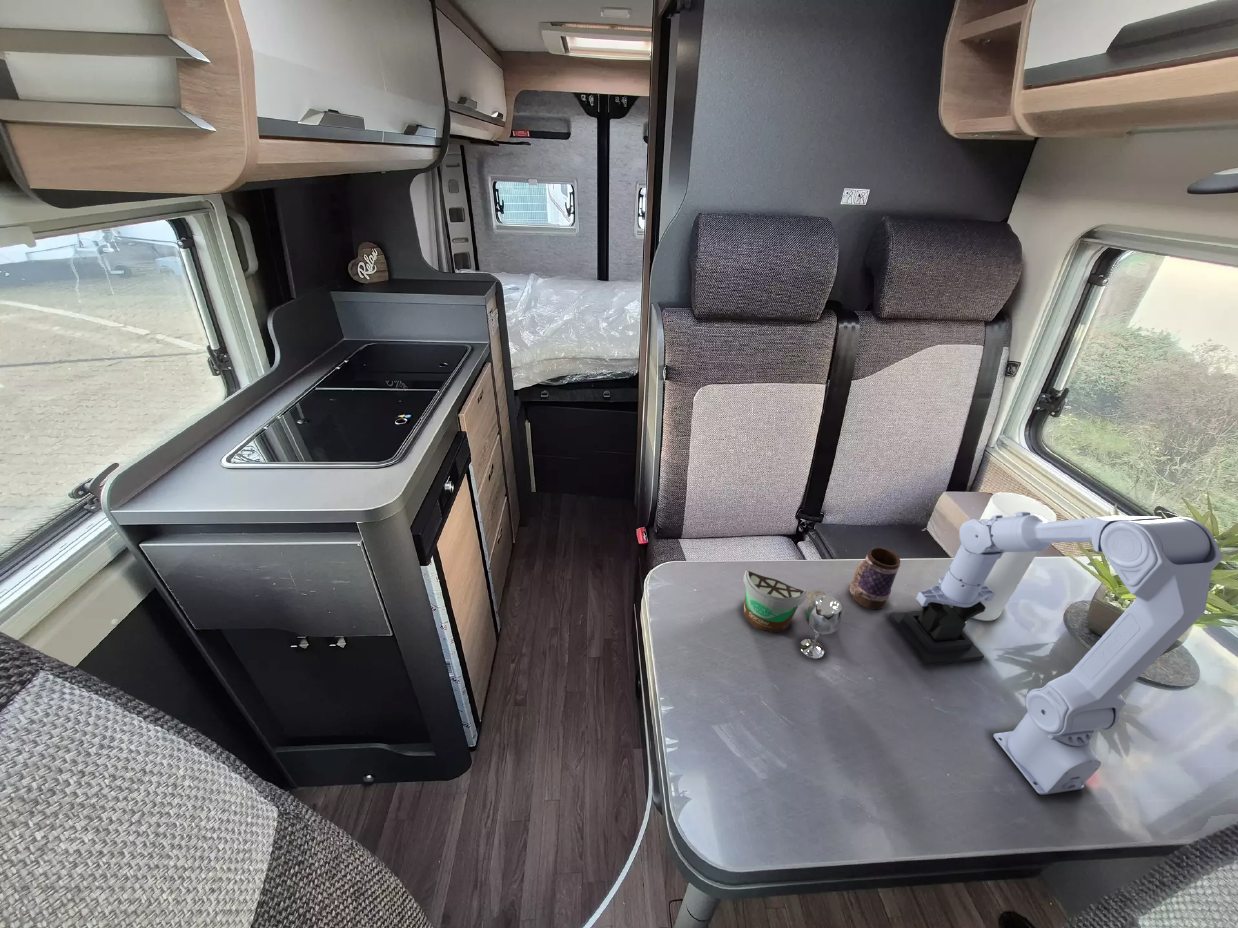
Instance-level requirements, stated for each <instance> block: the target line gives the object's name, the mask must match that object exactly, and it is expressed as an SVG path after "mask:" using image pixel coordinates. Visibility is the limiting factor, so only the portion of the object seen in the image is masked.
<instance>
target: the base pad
mask: <svg viewBox="0 0 1238 928" xmlns="http://www.w3.org/2000/svg"><path fill="white" fill-rule="evenodd" d="M921 611H922V610H912V611H901V612H890V613H889V615H888V617H889V619H890V620H891V621H892V623H893V624H894V626H895V627H896V628H897V629H898V631H899V632H900V633H901V634H902V636H903V637H904V639H905V640H906V641H907V642H908V644H909V645H910V646H911V648H912V649H913V651H914V652H915V653H916V654H917V655H918V657H919V658H920V659H921V661H922V662H923V663H924V665H925V666H932V665H941V664H942V665H943V664H952V663H962V662H971V661H979V660H983V659H984V657H985V655H984V654H983V653H982V652H981V650H980V649H979V648H978V647H977V646H976V645H975V643H974V641H972V639H971V638H970V637H969V636H968V635H967V633H965V631H964V630H962V632H961V634H960V636H959V638H958V639H957V640H956V641H945V642H934V641H933V640H932V639H931V637H930V636H929V635H928V634H927V633H926V631H925V630H924V629H923V628H922V626H921V625H920V624H919V623H918V622H917V619H918V617H919V615H920V613H921Z"/></svg>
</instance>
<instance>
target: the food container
mask: <svg viewBox="0 0 1238 928" xmlns="http://www.w3.org/2000/svg"><path fill="white" fill-rule="evenodd" d="M743 584H744V586H745V593H744V603H743V615H744V616H745V618H746V620H747V621H748V623H750V624H751V626H753V627H754V628H756V629H758V630H759V631H763V632H767V633H779V632H782V631H783V632H784V630H786V629H787V628H788V627H789V626H790V624H791V622H792V620H793V618H794V616H795V614H796V612H797V610H798V608H799V606H801V605H802V604H803V603H804V602H805V601H806V600H807V599H808V598H807V592H808V590H807V588H805V589H804V590H802V589H800V588H796V587H793V586H791V585H789V584H786V583H785V582H783V581H780V580H778V579H776V578H772V577H768V576H764V575H761V574H759V573H755V572H753V571H750V567H747V569H746V570H745V572H744V574H743Z"/></svg>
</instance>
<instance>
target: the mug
mask: <svg viewBox="0 0 1238 928" xmlns="http://www.w3.org/2000/svg"><path fill="white" fill-rule="evenodd" d="M900 566H901V558H900V557H899V556H898V555H897V554H896V553H895V552H894V551H892V550H890V549H887V548H884V547H878V546H877V547H873V548H871V549H869V551H868V552H867V554H866V556H865V559H863V560H861V561H860V562H859V563H858V565H857V566H856V568H855V571H854V575H853V578H852V580H851V582H850V585H849V592H850V594H851V596H852V598H853V599H854V600H855V602H856V603H858V604H859V605H861V606H862V607H864V608H867V609H872V610H878V609H882V608H884V607H885V605H886V604H887V601H888V600H889V598H890V595H891V593H892V587H893V584H894V582H895V579H896V577H897V574H898V571H899V570H900Z"/></svg>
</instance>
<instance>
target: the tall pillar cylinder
mask: <svg viewBox="0 0 1238 928" xmlns="http://www.w3.org/2000/svg"><path fill="white" fill-rule="evenodd" d="M1017 512H1030V514H1031V515H1038V516H1041V517H1043V518H1044V519H1046V520H1047V521H1048V522H1054V521H1058V516H1057V515H1056V513H1055V512H1054V511H1053V510H1052V508H1050V507H1049V506H1048V505H1046V504H1044V503H1043V502H1041V501H1038V500H1037V499H1034V498H1031V497H1029V496H1026V495H1023V494H1019V493H1015V492H1008V491H1005V492H1004V491H1000V492H996V493H994V494H992V495H991V497H990V498H989V501H988V503H987V504H986V507H985V509H984V510H983V512H982V515H981V516H980V518H979V520H980V519H992V518H991V517H992V516H996V515H1002V516H1003V517H1014V516H1016V513H1017ZM1038 553H1039V552H1005V553H1004V554H1003V555H1002V556H1001V558H1000V559H997V561H996V563H995V565H994V566H993V568H992V570H991V572H990V573H989V575H988V577H987V579H986V581H985V582H984V584H983V586H988V587H989V588H990V589H991V590H992V591H993V592H994V593H995V595H994V596H993V598H992V600H991V601H986V600H985V599H983V600H982V601H981V603H982V604H983V605H984V606H985V607H986V609H985V611H984V612H982V613H979V614H977V615H975V616H973V617H972V618H971V619H976V620H979V621H987V622H988V621H994V620H996V619H998V618H999V617H1000V616H1001V614H1002V612H1003V611H1004V609H1005V607H1006V606H1007V605H1008V603H1009V601H1010V599H1011V598H1012V596H1013V594H1014V593H1015V591H1016V589H1017V588H1018V586H1019V584H1020V582H1021V581H1022V579H1023V578H1024V576H1025V574H1026V572H1027V571H1028V570H1029V568H1030V566H1031V564H1032V563H1033V561H1034V559H1035V558H1036V556H1037V555H1038Z"/></svg>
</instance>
